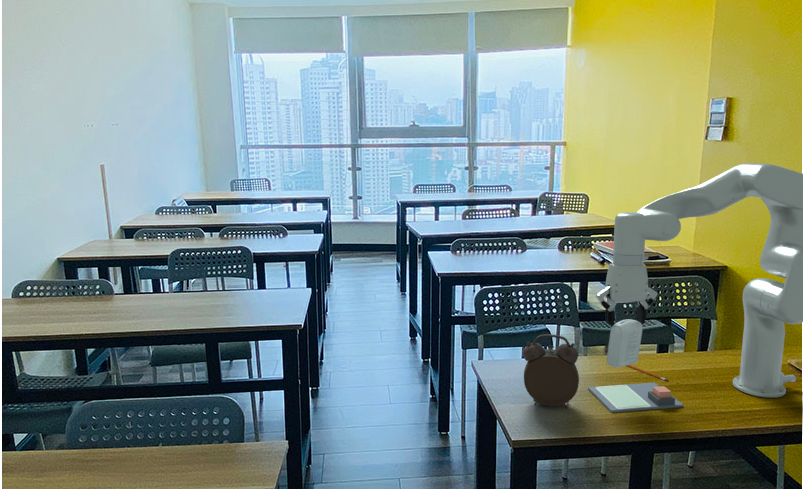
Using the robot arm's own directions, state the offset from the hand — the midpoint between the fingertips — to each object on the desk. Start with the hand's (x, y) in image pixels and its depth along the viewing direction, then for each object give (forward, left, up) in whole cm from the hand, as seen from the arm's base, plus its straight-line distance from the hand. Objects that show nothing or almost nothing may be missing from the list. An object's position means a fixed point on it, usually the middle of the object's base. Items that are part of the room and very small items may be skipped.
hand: (625, 322), depth 147 cm
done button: (-9, +4, -20) cm, 22 cm away
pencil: (-15, -17, -22) cm, 32 cm away
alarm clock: (+20, 0, -22) cm, 30 cm away
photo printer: (0, 0, -12) cm, 12 cm away
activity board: (-4, 0, -22) cm, 22 cm away
